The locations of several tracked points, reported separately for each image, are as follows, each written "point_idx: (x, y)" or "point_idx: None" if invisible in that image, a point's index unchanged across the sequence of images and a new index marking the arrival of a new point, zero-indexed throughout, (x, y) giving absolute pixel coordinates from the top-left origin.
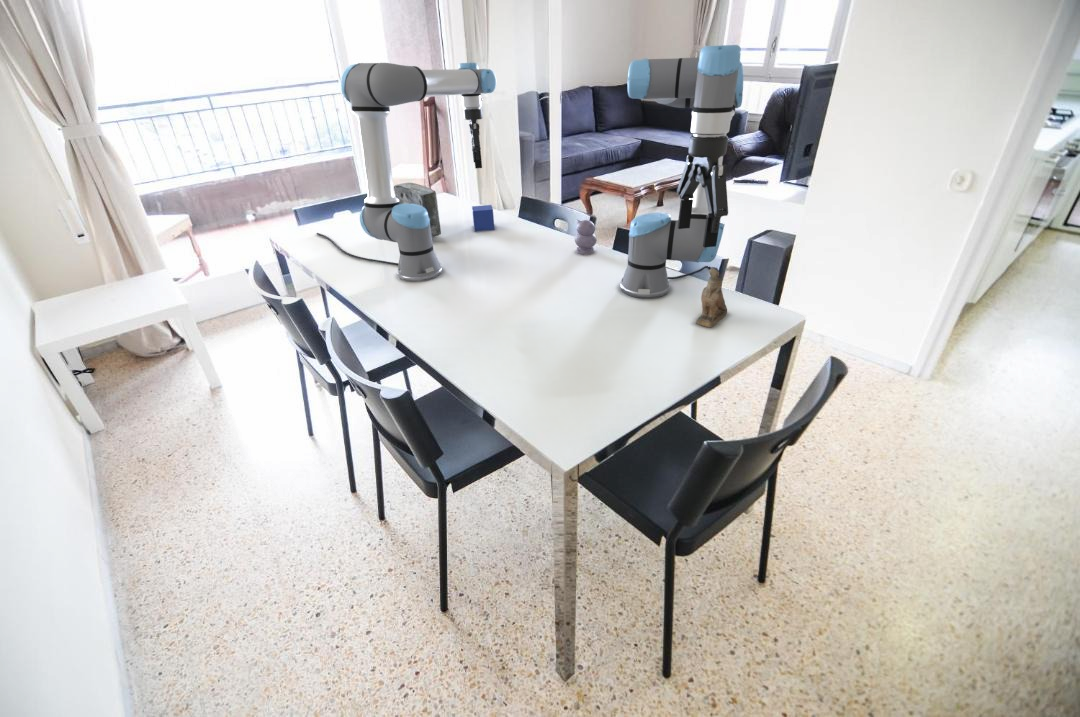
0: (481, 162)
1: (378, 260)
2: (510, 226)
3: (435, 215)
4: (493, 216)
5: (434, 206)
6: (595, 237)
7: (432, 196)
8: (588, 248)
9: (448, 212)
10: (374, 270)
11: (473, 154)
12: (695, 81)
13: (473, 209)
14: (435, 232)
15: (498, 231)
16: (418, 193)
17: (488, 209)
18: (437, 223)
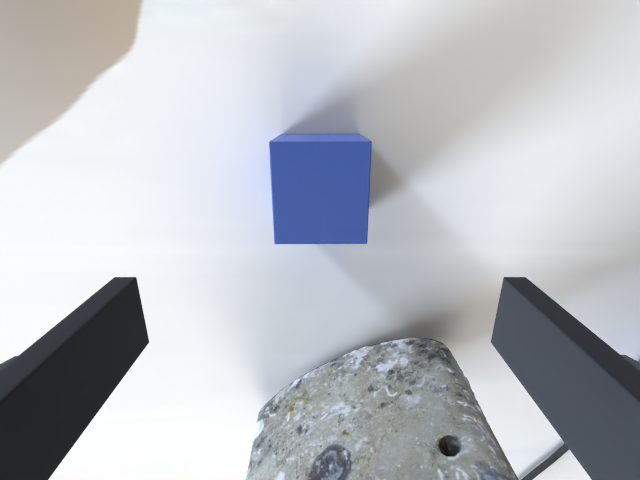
0: (563, 311)
1: (548, 466)
2: (325, 52)
3: (474, 400)
4: (366, 138)
5: (491, 430)
6: None
7: (515, 476)
8: None
9: (63, 303)
10: None
11: (99, 404)
12: None
13: (336, 239)
14: (455, 361)
15: (383, 118)
16: None
17: (361, 165)
18: (459, 373)
